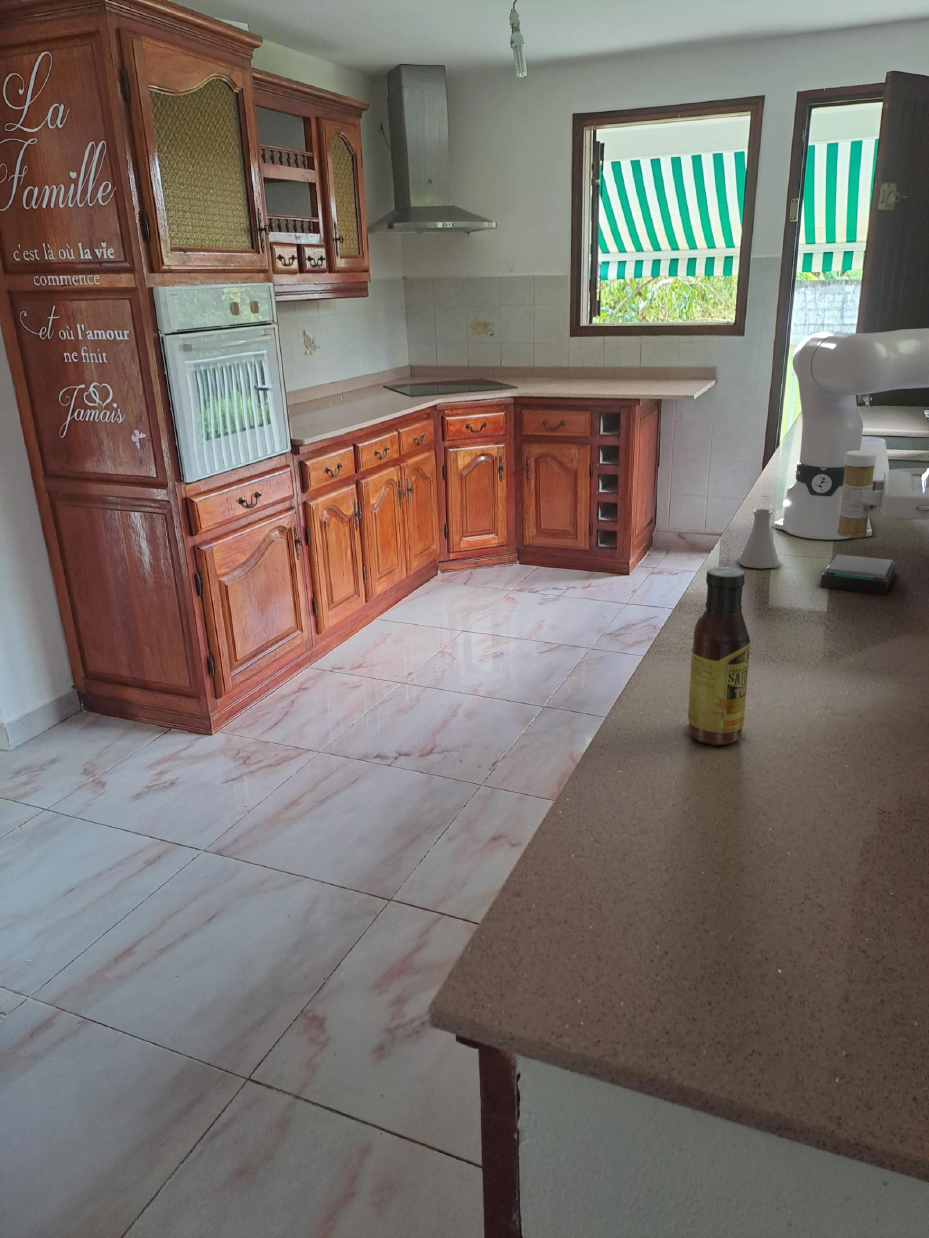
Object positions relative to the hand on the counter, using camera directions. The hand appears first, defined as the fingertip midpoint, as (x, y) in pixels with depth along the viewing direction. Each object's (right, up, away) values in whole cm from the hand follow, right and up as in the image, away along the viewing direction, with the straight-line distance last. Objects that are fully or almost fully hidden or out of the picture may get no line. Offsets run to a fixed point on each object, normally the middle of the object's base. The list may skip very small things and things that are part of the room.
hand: (850, 491), depth 141 cm
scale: (+6, -14, +11) cm, 18 cm away
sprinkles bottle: (+1, -7, +2) cm, 7 cm away
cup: (+30, +7, +64) cm, 71 cm away
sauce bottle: (-33, -34, -38) cm, 61 cm away
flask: (-7, -10, +22) cm, 25 cm away
